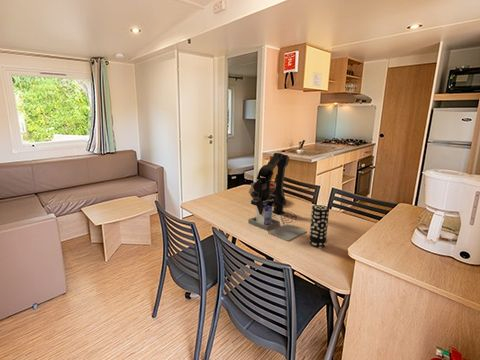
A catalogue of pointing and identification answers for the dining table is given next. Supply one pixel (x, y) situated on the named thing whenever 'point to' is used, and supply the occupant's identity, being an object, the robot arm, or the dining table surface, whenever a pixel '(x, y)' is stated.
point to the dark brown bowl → (272, 188)
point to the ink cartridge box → (265, 215)
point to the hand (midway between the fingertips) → (264, 213)
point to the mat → (287, 232)
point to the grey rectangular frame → (262, 226)
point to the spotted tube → (318, 226)
